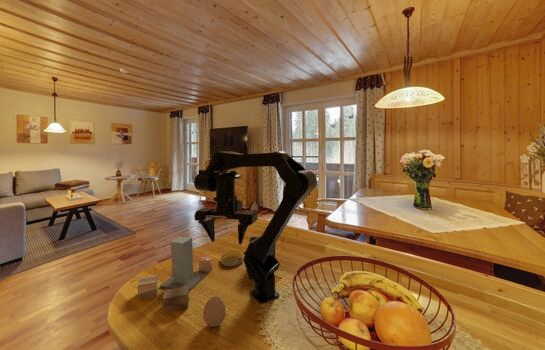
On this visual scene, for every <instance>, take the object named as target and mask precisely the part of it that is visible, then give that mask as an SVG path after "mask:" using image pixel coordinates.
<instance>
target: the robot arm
mask: <svg viewBox="0 0 545 350" xmlns="http://www.w3.org/2000/svg"><path fill="white" fill-rule="evenodd" d="M250 167H253V168H255V167H256V168H257V167H259V168H260V167H273V168H274V169H275V170H276V172H277V174H278V176H279V177H280V179H281V180H282V182H284V187H283V192H282V199H281V201H280V203H279V204H278V207H277V208H276V210H275V212H274V214H273V215H272V217H271V219H270V221H269V222H268V225H267V226H266V228H265V230H264V232H263V233H262V235H261V236H262V237H261V236H258V237H259V238H257V239H255V240H254V241H252V242H250V243H249V244H248V245H247V248H246V250H245V251H244V252H243V254H242V255H244V256H243V261H242V262H244V266H245V269H246V272H247V275H248V278H249V279H250V280H251V281H253V289H252V290H249V295H251V297H253V298H254V299H255V300H256V301H257V302H258V303H259V304H260V305H263V304H264V303H266V302H268V301H271V299H272V300H273V299H276V298H278V297H280V296H279V295H280V292H278V291H277V290H276V277H275V272H276V271H278V270H279V268H280V265H281V263H280V262H279V260H278V259H277V258H276V256H275V257H274V255H273V254H274V251H275V252H276V244H275V243H277V242H278V240H279V238H280V237H281V234H283V232H284V230H285V229H286V227H287V225H288V224H289V221H290V220H291V218H292V217H293V215H294V213H295V212H296V210H297V209H298V207H299V206H300V204H301V203H302V202H303V201H304V200H305V199H306V198H307V197H308V196H309V195H310V194H311V193H312V192H313V191H314V189H315V188H316V187H317V184H318V179H317V176H316V174H315V173H314V172H313V171H311V170H308V169H306V168H305V167H304V166H303V165H302V164H300V162H298V161H297V160H295V159H294V158H292V156H291V155H289V154H288V152H286V151H284V150H283V151H273V152H263V153H261V152H260V153H240V152H235V151H215V152H214V153H213V155H212V156H211V160H210V161H209V163H208V165H207V167H206V169H198V174H196V176H195V178H194V180H193V187H194V188H195V189H196V190H197V191H203V192H212V193H214V192H215V197H213V201H214V202H215V208H214V207H202V208H200V209H197V210H196V211H195V212H194V221H198V224H200V225H201V226H202V228H203V229H204V230H205V232H206V234H207V235H208V237H209V239H210V241H211V242H215V240H216V239H215V238H216V236H215V235H216V234H215V231H216V230H215V221H216V219H223V220H224V219H225V220H226V219H227V220H238V225H237V235H238V237H237V239H238V240H237V241H238V245H242V243H243V241H244V237H245V235H246V233H247V232H246V231H247V229H248V228H249V227H250V225H252V226H253V224H254V223H255V222H256V221H258V219H259V218H258V213H257V210H247V209H246V210H245V209H244V210H243V205H244V202H243V201H242V200H239V199H238V195H237V194H236V183H235V181H236V180H237V179H241V178H242V176H241V175H240V174H239V173H238V172H237V170H239V169H242V168H250ZM277 296H278V297H277ZM275 297H276V298H275Z"/></svg>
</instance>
